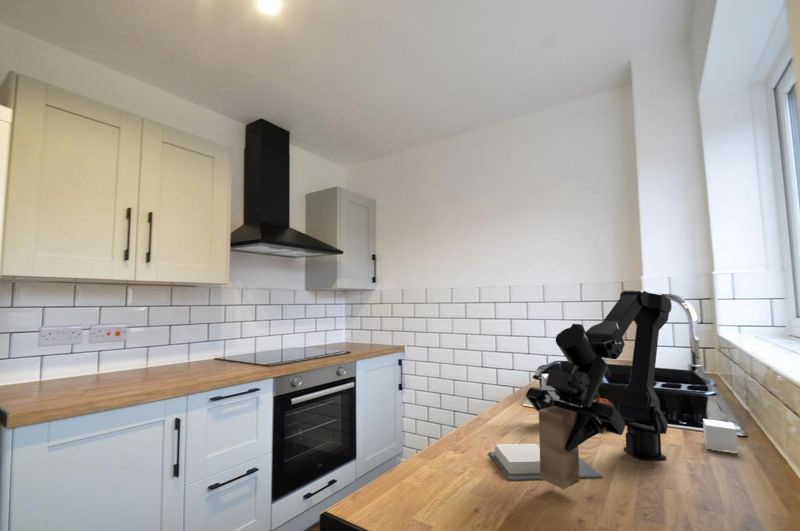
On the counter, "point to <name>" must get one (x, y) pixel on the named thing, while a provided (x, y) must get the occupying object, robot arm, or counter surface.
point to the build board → (582, 471)
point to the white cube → (720, 435)
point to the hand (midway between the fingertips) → (554, 445)
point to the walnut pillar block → (557, 447)
